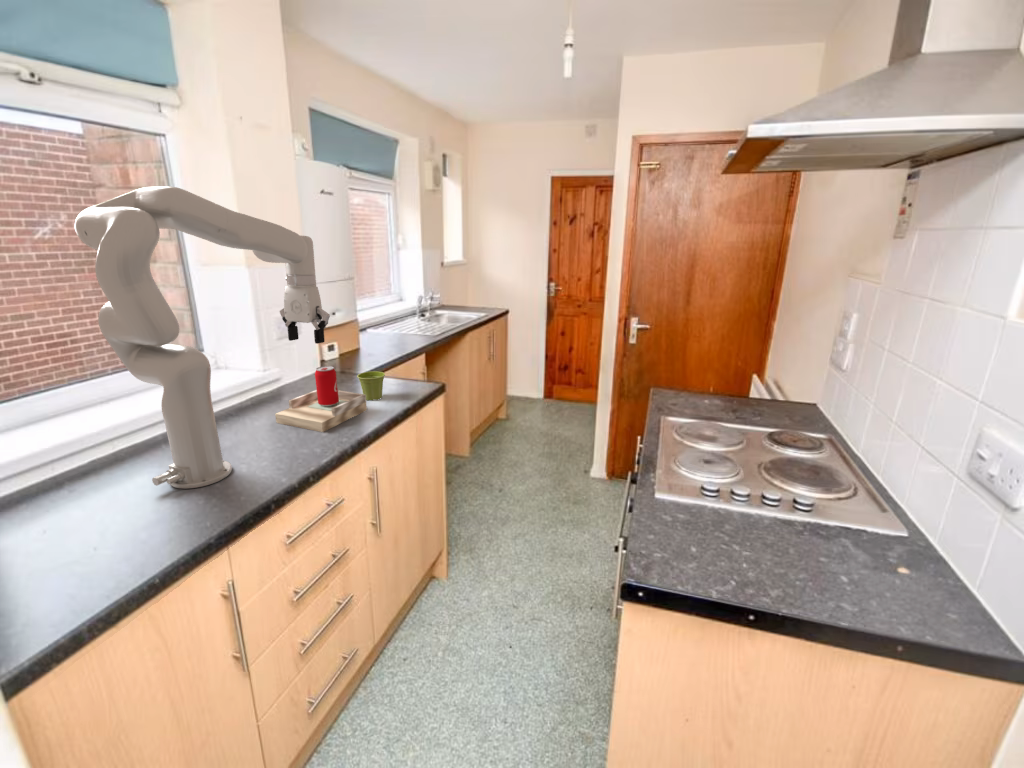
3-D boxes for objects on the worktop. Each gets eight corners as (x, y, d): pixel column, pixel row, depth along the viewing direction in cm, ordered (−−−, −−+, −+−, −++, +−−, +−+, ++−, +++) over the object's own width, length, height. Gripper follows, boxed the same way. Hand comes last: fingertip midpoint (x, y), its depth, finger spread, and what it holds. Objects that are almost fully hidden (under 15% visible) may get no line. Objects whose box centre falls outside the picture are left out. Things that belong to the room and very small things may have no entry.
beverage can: (342, 401, 155) (339, 365, 151) (333, 407, 149) (330, 371, 145) (324, 400, 155) (320, 365, 152) (314, 407, 149) (310, 370, 146)
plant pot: (353, 400, 165) (351, 377, 162) (369, 392, 174) (367, 370, 171) (377, 403, 162) (375, 379, 160) (391, 395, 171) (390, 372, 169)
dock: (322, 432, 138) (320, 414, 137) (276, 422, 145) (274, 406, 143) (366, 410, 156) (365, 394, 155) (323, 402, 163) (322, 387, 161)
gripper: (267, 280, 133) (273, 340, 137) (316, 283, 127) (320, 346, 131) (288, 279, 140) (293, 337, 144) (335, 282, 134) (339, 342, 138)
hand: (306, 341), depth 138 cm, fingers open, 9 cm apart
